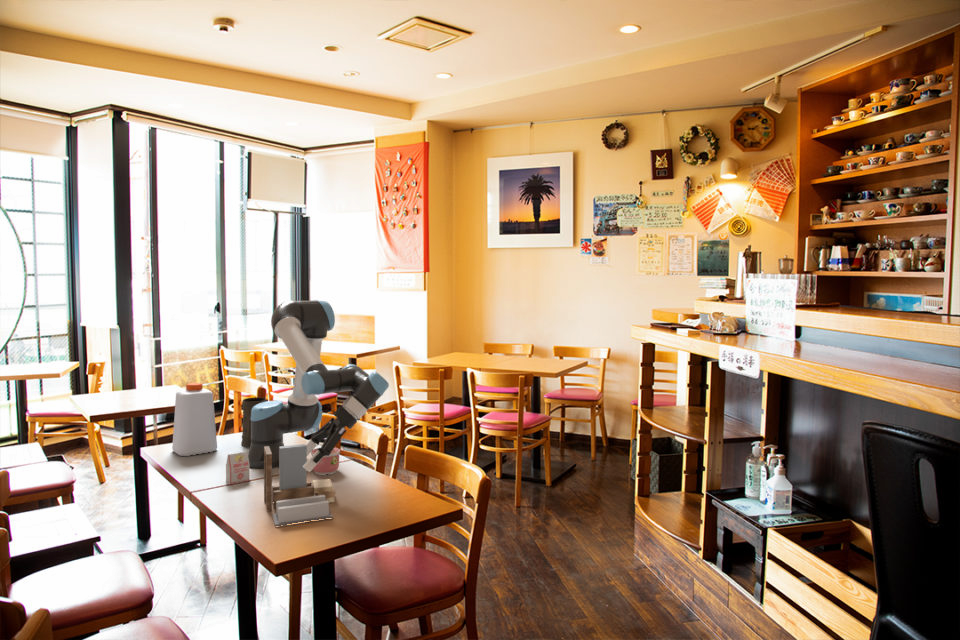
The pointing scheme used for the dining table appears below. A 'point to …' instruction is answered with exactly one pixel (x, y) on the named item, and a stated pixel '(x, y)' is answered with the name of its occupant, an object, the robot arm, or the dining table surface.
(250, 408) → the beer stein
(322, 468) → the container
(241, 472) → the tea bag
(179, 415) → the plastic bottle
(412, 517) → the dining table surface
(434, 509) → the dining table surface
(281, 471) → the slate board
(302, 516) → the slot stand
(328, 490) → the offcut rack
